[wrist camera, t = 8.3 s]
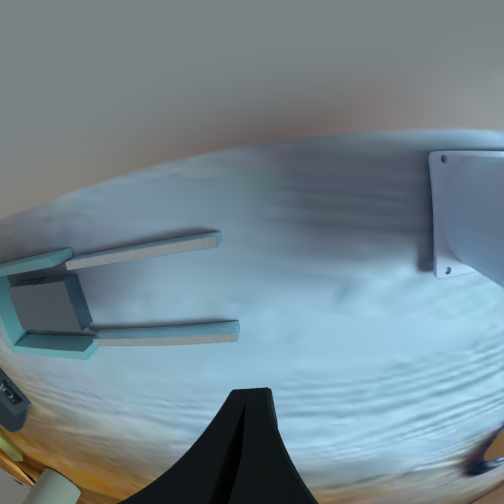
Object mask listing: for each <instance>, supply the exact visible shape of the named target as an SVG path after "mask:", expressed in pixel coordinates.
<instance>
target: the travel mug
mask: <svg viewBox="0 0 504 504" xmlns="http://www.w3.org/2000/svg"><path fill="white" fill-rule="evenodd" d="M80 494H81V492H80V490H79V489H78V487H77V486H76V485H75V484H74V483H73V482H71V481H70V480H69V479H68V478H66V477H65V476H63V475H62V474H60V473H58V472H57V471H55V470H52V469H48V468H45V470H44V471H43V473H42V474H41V476H40V477H39V479H38V480H37V482H36V483H35V485H34V486H33V488H32V489H31V491H30V492H29V494H28V496H27V497H26V499H25V500H24V502H23V503H22V504H75V503H76V501H77V500H78V498H79V496H80Z"/></svg>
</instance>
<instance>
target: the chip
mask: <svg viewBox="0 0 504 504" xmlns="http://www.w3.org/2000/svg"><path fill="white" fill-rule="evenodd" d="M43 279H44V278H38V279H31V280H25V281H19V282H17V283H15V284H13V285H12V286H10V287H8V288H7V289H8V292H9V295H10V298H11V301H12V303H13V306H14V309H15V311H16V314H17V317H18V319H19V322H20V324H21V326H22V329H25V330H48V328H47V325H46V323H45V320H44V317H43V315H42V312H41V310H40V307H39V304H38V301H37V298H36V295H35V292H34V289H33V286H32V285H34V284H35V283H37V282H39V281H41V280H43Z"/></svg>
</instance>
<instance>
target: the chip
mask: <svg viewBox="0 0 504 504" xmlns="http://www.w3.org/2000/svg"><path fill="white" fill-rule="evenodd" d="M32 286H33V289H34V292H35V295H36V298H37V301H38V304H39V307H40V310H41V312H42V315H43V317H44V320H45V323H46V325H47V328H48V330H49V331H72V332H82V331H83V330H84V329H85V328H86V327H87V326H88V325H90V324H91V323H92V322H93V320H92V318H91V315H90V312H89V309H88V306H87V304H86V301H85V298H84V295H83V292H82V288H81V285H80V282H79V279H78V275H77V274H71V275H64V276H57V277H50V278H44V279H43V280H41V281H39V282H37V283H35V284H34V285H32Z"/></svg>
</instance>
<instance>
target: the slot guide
mask: <svg viewBox="0 0 504 504" xmlns="http://www.w3.org/2000/svg"><path fill="white" fill-rule="evenodd" d="M221 242H222V236H221V231H215V232H209V233H203V234H197V235H191V236H185V237H179V238H173V239H167V240H161V241H155V242H150V243H144V244H138V245H133V246H127V247H122V248H116V249H111V250H105V251H100V252H95V253H89V254H84V255H79V256H76V257H74V258H72V259H70V260H68V261H66V262H65V263H66V267H67V270H73V269H79V268H85V267H92V266H98V265H104V264H111V263H117V262H123V261H130V260H136V259H143V258H149V257H156V256H162V255H169V254H175V253H182V252H188V251H195V250H202V249H208V248H215V247H218V245H219V244H220V243H221ZM239 332H240V325H239V321H230V322H219V323H208V324H195V325H181V326H165V327H146V328H121V329H101V330H100V331H99V332H98V333H97V334H96V335H95V336H94V337H93V338H92V340H93V343H94V345H95V346H166V345H190V344H207V343H222V342H234V341H237V340H238V336H239Z"/></svg>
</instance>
